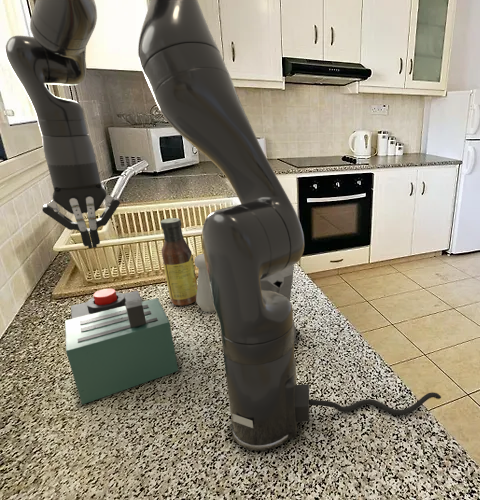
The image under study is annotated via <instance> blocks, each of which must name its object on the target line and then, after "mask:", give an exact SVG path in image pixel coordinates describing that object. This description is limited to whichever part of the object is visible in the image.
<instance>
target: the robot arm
mask: <svg viewBox="0 0 480 500" xmlns="http://www.w3.org/2000/svg"><path fill="white" fill-rule="evenodd" d="M97 20H98V11H97V5H96V1H95V0H35V3H34V7H33V9H32V13H31V17H30V23H29V28H30V29H29V30H30V32H31V35H32V36H27V35H13V36H11V37H10V38H9V39H8V40H7V41H6V45H5V50H4V51H5V52H4V53H5V57H6V60H7V63H8V64H9V66H10V68H11V70H12V72H13V74H14V75H15V77H16V78H17V80H18V82H19V83H20V85H21V87H22V88H23V90H24V92H25V94H26V95H27V97H28V100H29V101H30V103H31V105H32V108H33V110H34V113H35V115H36V120H37V123H38V127H39V132H40V135H41V139H42V141H41V142H42V149H43V153H44V158H45V161H46V165H47V168H48V172H49V176H50V180H51V183H52V187H53V193H52V199H51V200H50V201H49V202H47V203H45V204H43V205H42V208H41V209H42V210H41V211H42V212H43V213H44V214H45V215H47V216H48V217H50V218H52V220H54V221H55V222H57V223H58V224H60V225H61V226H63V227H64V228H66V229H68V230H69V231H73V230H74V231H77V232H79V233H80V237H81V241H82V245H83V246H84V247H88V249H89V250H90V249H96V248H98V245H100V244H101V240H100V235H99V231H98V230H99V228H101V227H104V226H107V224H108V223H109V221H110V220H111V218H112V217H113V215H114V214H115V212H116V211H117V210H118V207H119V206H120V204H121V202H120V200H119V198H117V197H114V196H111V195H109V194H107V191H106V190H105V188H104V187H103V185H102V180H101V177H100V176H101V175H100V171H99V167H98V162H97V158H96V157H97V156H96V153H95V149H94V145H93V142H92V140H91V137H90V133H89V129H88V124H87V120H86V115H85V111H84V108H83V106H82V105H81V104H80V103H79V102H77V101H75V100H72V99H67V98H61V97H58V96H55V95H54V94H53V93H52V92H51V90H49V89H48V87H47V86H46V85H58V86H59V85H60V86H76V85H79V84H81V83H82V82H83V81H85V79H86V77H87V70H88V69H87V60H86V55H87V46H88V43H89V41H90V39H91V37H92V35H93V33H94V31H95V28H96V26H97ZM140 29H141V30H140V34H139V38H138V45H137V47H138V49H137V54H138V55H137V56H138V61H139V64H140V65H139V66H140V68H141V71H142V73H143V75H144V78H145V80H146V82H147V85H148V87H149V89H150V91H151V94H152V97H153V99H154V101H155V103H156V105H157V107H158V109H159V112H160V113H161V114H162V117H164V118H165V120H166V121H167V122H168V123H169V124H170V126H171V127H172V128H173V129H174V130H175V131H176V132H177V133H178V134H179V135H180V136H182V138H183V139H185V141H187V142H188V143H189V144H191V146H193V147H195V149H197V150H198V151H199V153H201V154H203V156H205V157H206V158H207V159H208V160H210V161H211V162H212V164H214V165H215V166H216V167H217V168H218V169H219V170H220V172H222V174H223V175H224V176H225V178H226V179H227V180H228V182H229V183H230V186H231V187H232V188H233V191H234V192H235V194H236V196H237V198H238V200H239V202H240V204H236V205H232V206H231V205H230V206H226V207H223V208H219V209H216V210H214V211H212V212H210V213H209V214H208V215H207V216H206V217H205V219H204V222H203V225H202V231H201V244H202V246H201V247H202V252H203V253H202V254H204V258H205V263H206V268H207V273H208V278H209V284H210V290H211V296H212V301H213V305H214V308H215V311H214V312H215V314H216V317H217V319H218V322H219V329H220V337H221V344H222V353H223V364H224V370H225V380H226V387H227V394H228V404H229V411H230V422H231V433H232V437H233V439H234V441H235V442H236V443H237V444H238V445H239V446H241V447H242V448H244V449H246V450H249V451H254V452H255V451H257V452H263V451H268V450H273V449H275V448H278V447H280V446H281V445H283V444H285V443H286V442H287V441H290V440H295V439H297V432H298V423H305V422H306V423H307V422H310V406H317V407H328V408H332V409H335V410H336V411H338V412H341V413H348V412H351V411H354V410H356V409H358V408H360V407H362V406H366V405H367V406H368V405H369V406H375V407H377V408H379V409H380V410H382V411H384V412H386V413H388V414H390V415H394V416H405V415H408V414H410V413H412V412H414V411H416V410H417V409H418V408H420V407H421V406H423V404H424V403H425V402H427V401H428V400H429V399H431V398H433V399H436V400H440V399H442V396H441V395H440V394H439V393H437V392H433V391H432V392H428V393H426V394H424V395H423V396H422V397H420V399H419V400H418V401H416V402H415V403H414V404H412V405H410V406H409V407H406V408H403V409H395V408H392V407H390V406H387V405H386V404H384V403H382V402H381V401H378V400H375V399H372V398H371V399H369V398H368V399H361V400H357V401H356V402H353V403H352V404H350V405H347V406H342V405H340V404H339V403H338V402H334V401H330V400H321V399H310V384H309V383H303V384H298V383H297V382H298V381H297V359H296V357H295V342H294V332H293V320H294V309H293V304H292V301H291V300H290V301H289V299H288V298H287V297H285V296H284V295H282V294H280V293H277V292H274V291H269V290H261V286H260V280H261V279H263V278H266V277H268V276H270V275H273V274H275V273H277V272H279V271H282V270H284V269H287V268H289V267H291V266H295V265H296V264H297V263H298V262H299V261H300V260H301V259H302V257H303V254H304V251H305V234H304V231H303V228H302V224H301V221H300V218H299V216H298V214H297V212H296V209H295V207H294V205H293V204H292V202H291V200H290V198H289V196H288V195H287V192H286V190H285V189H284V187H283V186H282V184H281V182H280V180H279V178H278V177H277V175H276V173H275V171H274V169H273V167H272V166H271V163H270V162H269V160H268V158H267V156H266V154H265V152H264V150H263V148H262V146H261V144H260V142H259V140H258V137H257V136H256V133H255V131H254V128H253V127H252V124H251V123H250V120H249V118H248V116H247V113H246V111H245V109H244V107H243V105H242V103H241V100H240V97H239V95H238V92H237V90H236V88H235V87H236V86H235V85H234V82H233V80H232V77H231V75H230V73H229V70H228V67H227V66H226V62H225V61H224V58H223V56H222V54H221V51H220V49H219V48H218V44H217V43H216V41H215V39H214V36H213V34H212V32H211V30H210V28H209V25H208V23H207V21H206V17H205V16H204V13H203V11H202V8H201V6H200V3H199V0H149V4H148V8H147V11H146V14H145V17H144V21H143V23H142V27H141V28H140ZM104 201H105V202H104ZM103 203H104V204H105V206H106V207H105V209H104V210H103V212H102V213H101V215H100V217H98V218H97V217H96V212H97V211H99V209H100V207H101V206H102V204H103ZM58 205H59V206H58ZM60 207H61V208H62V209H64V210H65V211H67V212H68V213H70V214H72V215H74V218H75V221H73V220H72V219H70V218H69V217H68V216H66V215H65V214H64V213H62V212H61V211H60V209H61V208H60ZM83 214H87V220H88V227H87V223H86V221H85V217H84V215H83Z"/></svg>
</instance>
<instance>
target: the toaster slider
mask: <svg viewBox="0 0 480 500" xmlns="http://www.w3.org/2000/svg"><path fill="white" fill-rule="evenodd" d="M125 306H126V310H127V315H128V319H129V323H130V326H131V328H133V327H137V326H140V325H144V324H146V319H145V314H144V310H143V305H142V303H141V300H140V299H137V300H132V301H128V302H125Z"/></svg>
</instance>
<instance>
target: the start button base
mask: <svg viewBox="0 0 480 500" xmlns="http://www.w3.org/2000/svg"><path fill="white" fill-rule="evenodd" d="M115 292H116V296H117V300H116V301H114V302H112V303H110V304H106V305H96V304H95V300H94V296H93V297H91V298H90V299H89V300H87V301H86V302H82V303H77V304H73V305H70V317H71V318H70V319H73V318H77V317H81V316H85V315H90V314H94V313H98V312H102V311H106V310H110V309H114V308H118V307H122V306H125V302H128V301H132V300H137V299H140V300H141V302H143V300H142V297H141V295H140V293H139V290H134V291H129V292H125V293H122V292H119V291H115Z"/></svg>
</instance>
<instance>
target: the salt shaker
mask: <svg viewBox="0 0 480 500" xmlns="http://www.w3.org/2000/svg"><path fill="white" fill-rule="evenodd" d="M194 267H196V268H197V269H198V272H197V297H196V301H195V303H196V304H197V305H198V306H199V308H200V309H201V311H202V312H205V313H213V312H216V311H215V308H214V305H213V301H212V296H211V290H210V284H209V278H208V273H207V268H206V263H205V258H204V253H200V254H198V255H196V256H195V258H194Z"/></svg>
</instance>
